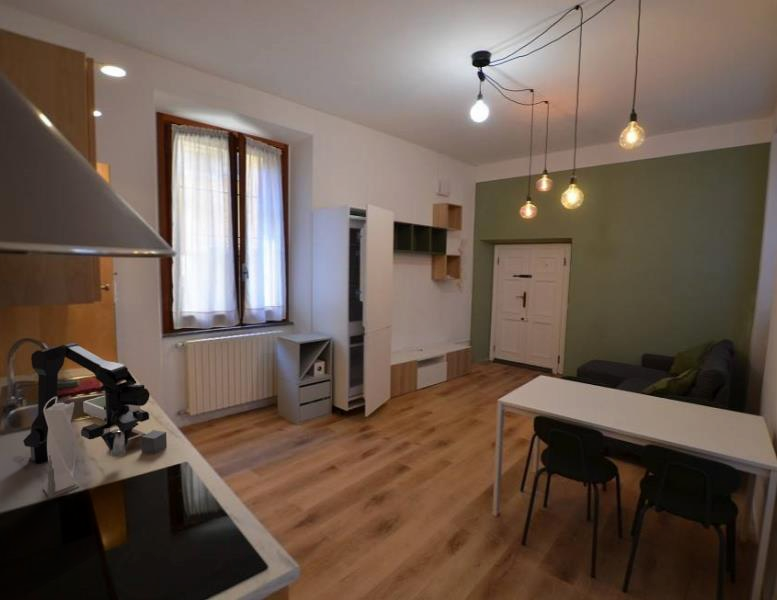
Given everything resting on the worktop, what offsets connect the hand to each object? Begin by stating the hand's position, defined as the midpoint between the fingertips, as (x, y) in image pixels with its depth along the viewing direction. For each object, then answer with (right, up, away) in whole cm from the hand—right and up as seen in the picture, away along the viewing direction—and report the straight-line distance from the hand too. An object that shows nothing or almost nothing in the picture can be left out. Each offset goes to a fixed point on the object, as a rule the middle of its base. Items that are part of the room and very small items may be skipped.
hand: (118, 447), depth 132 cm
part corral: (-34, -1, +45) cm, 57 cm away
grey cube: (+5, -6, +13) cm, 15 cm away
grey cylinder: (0, -2, 0) cm, 2 cm away
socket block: (-6, -5, +15) cm, 17 cm away
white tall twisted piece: (-9, -8, -12) cm, 17 cm away
